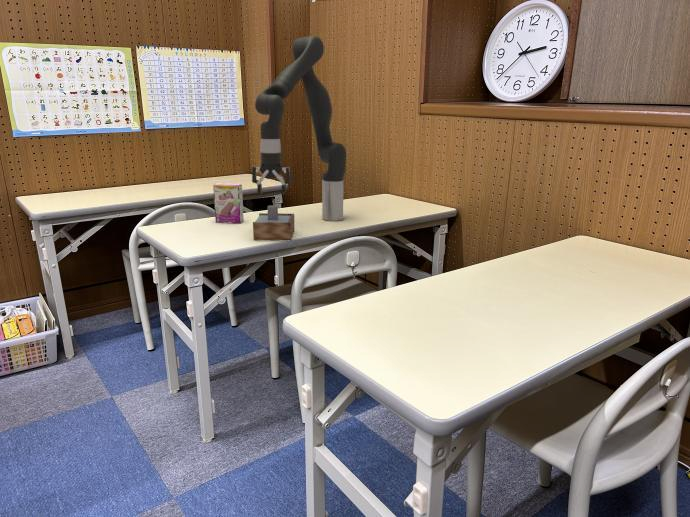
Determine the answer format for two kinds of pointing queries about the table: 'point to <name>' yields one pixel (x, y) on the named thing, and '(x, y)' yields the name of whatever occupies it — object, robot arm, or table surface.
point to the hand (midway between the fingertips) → (271, 194)
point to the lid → (272, 216)
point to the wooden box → (274, 229)
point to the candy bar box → (228, 202)
